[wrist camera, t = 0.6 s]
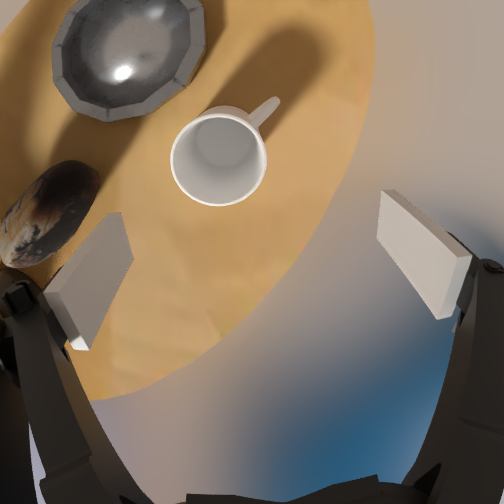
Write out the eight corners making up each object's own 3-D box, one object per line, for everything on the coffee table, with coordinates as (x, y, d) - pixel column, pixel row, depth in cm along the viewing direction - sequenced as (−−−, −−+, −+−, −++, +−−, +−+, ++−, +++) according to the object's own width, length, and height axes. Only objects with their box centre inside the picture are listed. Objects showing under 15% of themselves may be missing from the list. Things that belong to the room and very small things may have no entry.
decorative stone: (63, 247, 40) (15, 308, 27) (28, 207, 36) (-31, 257, 23) (134, 173, 36) (82, 221, 23) (92, 125, 32) (22, 150, 19)
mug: (251, 74, 30) (258, 65, 20) (295, 129, 34) (321, 146, 24) (174, 136, 34) (146, 157, 23) (219, 186, 37) (212, 227, 27)
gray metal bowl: (71, 130, 32) (59, 135, 29) (64, 5, 22) (52, 1, 20) (211, 105, 32) (209, 105, 29) (204, -32, 22) (201, -42, 20)
